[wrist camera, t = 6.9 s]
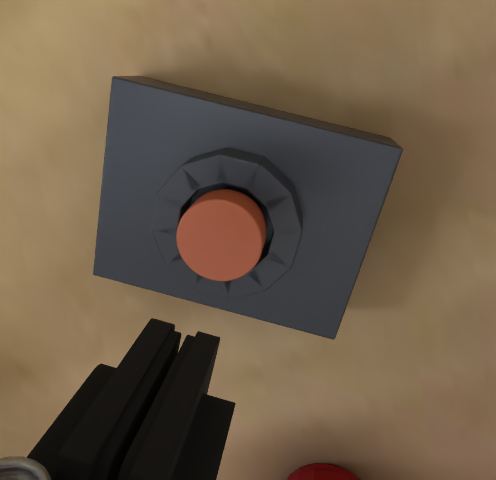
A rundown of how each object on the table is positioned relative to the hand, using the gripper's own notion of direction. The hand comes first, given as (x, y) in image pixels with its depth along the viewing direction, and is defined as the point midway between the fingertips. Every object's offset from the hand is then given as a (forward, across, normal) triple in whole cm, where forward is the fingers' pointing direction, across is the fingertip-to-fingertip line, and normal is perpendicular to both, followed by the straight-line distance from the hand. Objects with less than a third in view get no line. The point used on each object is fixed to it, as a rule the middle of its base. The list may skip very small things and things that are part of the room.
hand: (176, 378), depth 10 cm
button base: (+14, +1, 0) cm, 14 cm away
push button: (+10, +1, 0) cm, 10 cm away
